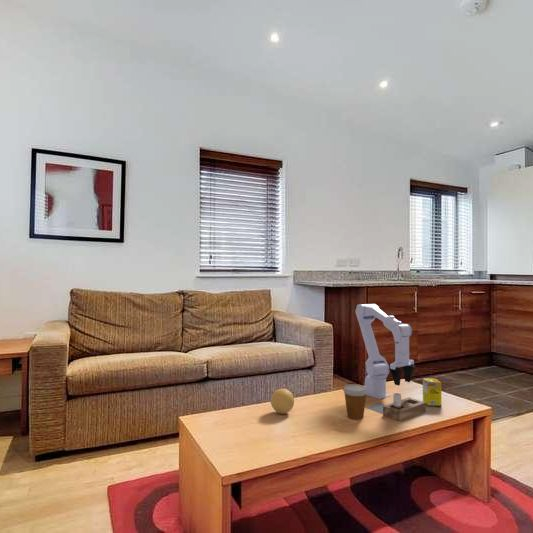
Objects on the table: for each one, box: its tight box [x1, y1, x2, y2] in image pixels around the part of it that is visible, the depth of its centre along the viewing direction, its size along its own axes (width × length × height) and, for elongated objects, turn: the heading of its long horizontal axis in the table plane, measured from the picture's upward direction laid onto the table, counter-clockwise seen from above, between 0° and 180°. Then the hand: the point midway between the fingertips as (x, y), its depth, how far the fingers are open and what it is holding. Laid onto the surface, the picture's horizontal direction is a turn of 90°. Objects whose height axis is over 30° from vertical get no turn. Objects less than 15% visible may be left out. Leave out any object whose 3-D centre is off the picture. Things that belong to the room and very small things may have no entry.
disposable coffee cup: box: [343, 383, 367, 420], centre depth 152 cm, size 10×10×12 cm
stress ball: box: [270, 388, 295, 415], centre depth 157 cm, size 10×10×10 cm
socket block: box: [382, 397, 427, 422], centre depth 155 cm, size 8×18×4 cm, turn 126°
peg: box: [392, 392, 402, 409], centre depth 152 cm, size 3×3×9 cm
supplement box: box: [422, 378, 442, 408], centre depth 166 cm, size 6×6×11 cm
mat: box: [364, 402, 386, 415], centre depth 161 cm, size 9×10×1 cm
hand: (402, 383), depth 163 cm, fingers open, 7 cm apart
